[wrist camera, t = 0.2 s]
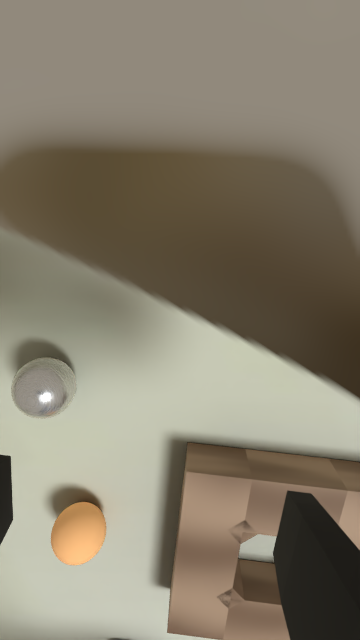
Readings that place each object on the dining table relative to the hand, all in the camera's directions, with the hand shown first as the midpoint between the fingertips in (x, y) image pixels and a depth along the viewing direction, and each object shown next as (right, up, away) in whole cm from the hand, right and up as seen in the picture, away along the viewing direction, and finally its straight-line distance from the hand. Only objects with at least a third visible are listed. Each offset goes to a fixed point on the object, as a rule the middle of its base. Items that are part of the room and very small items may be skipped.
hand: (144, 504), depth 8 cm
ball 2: (-5, -8, +11) cm, 15 cm away
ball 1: (-6, +1, +9) cm, 11 cm away
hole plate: (+7, -9, +12) cm, 17 cm away
